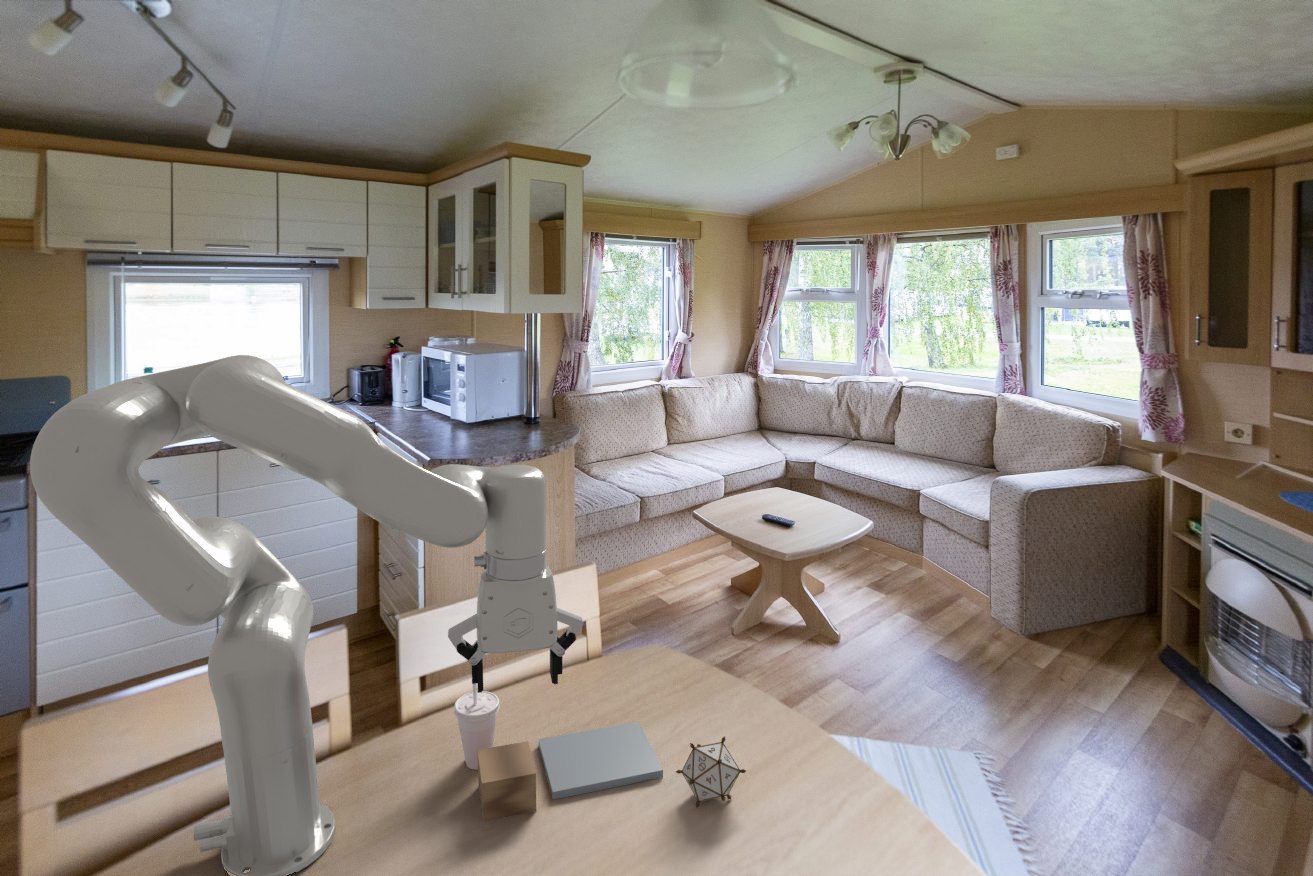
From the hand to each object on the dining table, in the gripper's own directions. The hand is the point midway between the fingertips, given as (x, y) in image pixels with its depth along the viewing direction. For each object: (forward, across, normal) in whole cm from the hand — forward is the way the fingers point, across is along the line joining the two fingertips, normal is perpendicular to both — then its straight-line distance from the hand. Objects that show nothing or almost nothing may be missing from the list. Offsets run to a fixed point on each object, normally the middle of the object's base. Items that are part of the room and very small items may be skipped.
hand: (517, 682), depth 96 cm
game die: (+18, +26, -6) cm, 32 cm away
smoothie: (+18, -5, +9) cm, 20 cm away
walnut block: (+18, -2, 0) cm, 18 cm away
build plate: (+17, +12, +5) cm, 22 cm away
